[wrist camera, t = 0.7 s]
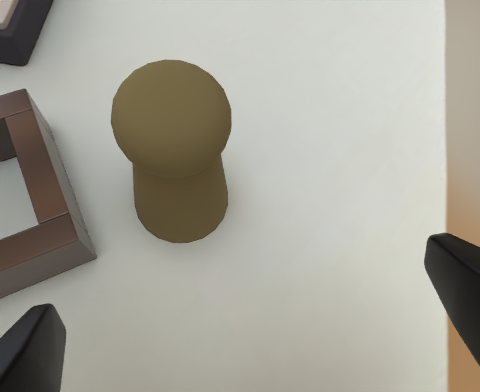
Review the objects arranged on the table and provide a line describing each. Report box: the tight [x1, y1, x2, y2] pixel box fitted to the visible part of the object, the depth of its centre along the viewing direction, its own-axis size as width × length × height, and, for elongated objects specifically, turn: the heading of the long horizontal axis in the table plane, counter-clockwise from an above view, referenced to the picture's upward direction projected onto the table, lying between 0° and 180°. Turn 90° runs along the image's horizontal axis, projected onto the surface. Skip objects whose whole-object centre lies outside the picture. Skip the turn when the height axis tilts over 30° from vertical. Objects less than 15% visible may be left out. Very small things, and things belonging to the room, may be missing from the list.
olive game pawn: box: [111, 60, 231, 243], centre depth 21 cm, size 6×6×11 cm
